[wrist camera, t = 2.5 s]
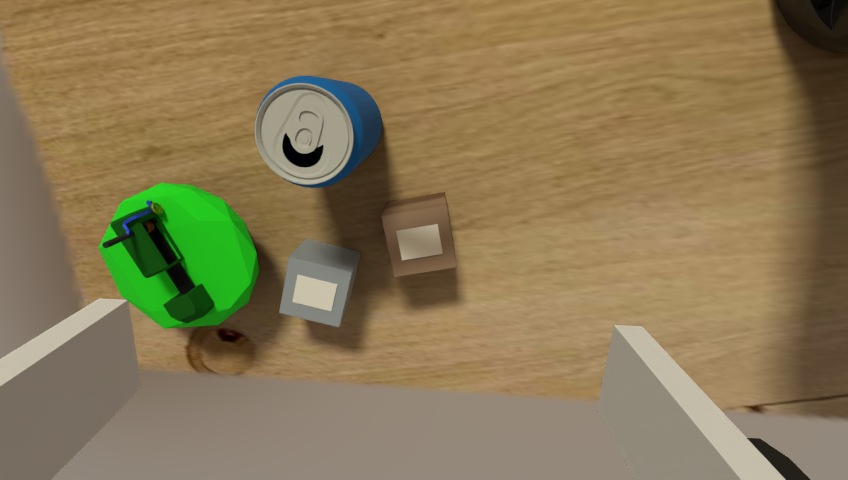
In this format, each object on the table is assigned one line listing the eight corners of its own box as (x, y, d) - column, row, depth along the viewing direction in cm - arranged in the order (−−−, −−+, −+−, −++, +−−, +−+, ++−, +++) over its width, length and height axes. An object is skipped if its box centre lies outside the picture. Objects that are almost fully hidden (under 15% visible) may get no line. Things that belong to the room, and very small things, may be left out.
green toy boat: (119, 207, 40) (3, 247, 29) (232, 153, 38) (152, 175, 27) (192, 321, 43) (111, 394, 32) (300, 276, 41) (251, 338, 31)
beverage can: (296, 149, 38) (237, 172, 26) (314, 70, 36) (259, 58, 24) (370, 173, 38) (344, 206, 27) (392, 96, 36) (374, 96, 25)
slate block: (306, 237, 40) (289, 257, 35) (361, 251, 40) (351, 273, 36) (296, 288, 42) (278, 313, 37) (349, 301, 42) (338, 327, 37)
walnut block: (387, 201, 39) (380, 216, 34) (444, 192, 39) (446, 205, 34) (398, 256, 41) (394, 277, 36) (453, 247, 40) (456, 267, 35)
